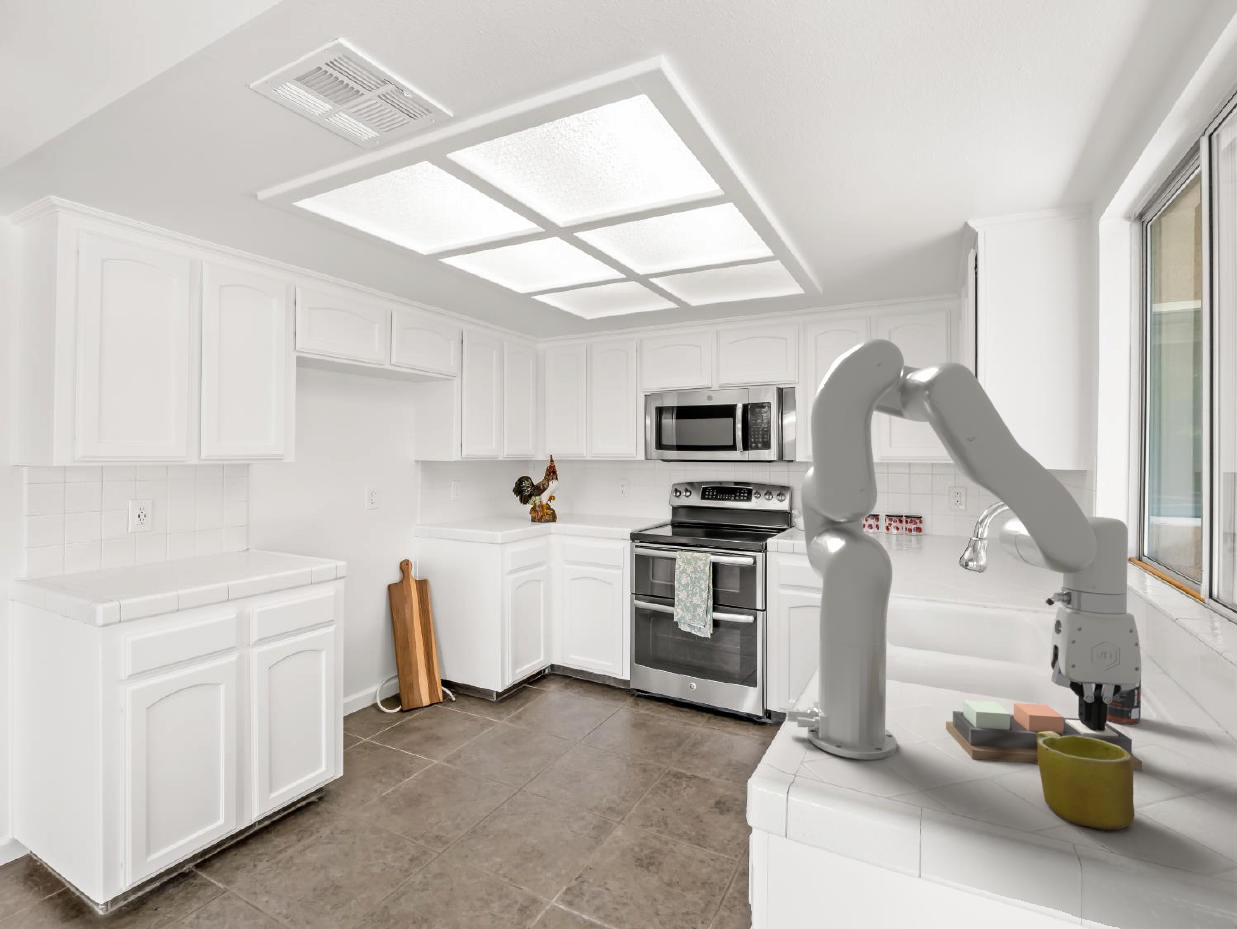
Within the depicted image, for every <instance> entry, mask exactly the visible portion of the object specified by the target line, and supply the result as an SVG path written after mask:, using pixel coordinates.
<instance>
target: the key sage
mask: <svg viewBox="0 0 1237 929" xmlns="http://www.w3.org/2000/svg"><path fill="white" fill-rule="evenodd" d="M962 708H963V709H962V710H963V711H962V712H963V716H964V717H965V718H966V719H967V720H968V721H969V722H970V723H971V724H972V725H973V726H974V727H975V728H989V729H1005V730H1010V715H1011V713H1009V712H1008V711H1007V710H1006V709H1005V708H1003V707H1002V706H1001V705H1000V704H999V703H998V702H996V701H989V700H988V701H987V700H986V701H984V700H967V699H964V700H963V707H962Z"/></svg>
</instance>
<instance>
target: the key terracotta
mask: <svg viewBox="0 0 1237 929" xmlns="http://www.w3.org/2000/svg"><path fill="white" fill-rule="evenodd" d="M1013 715H1014V719H1015V720H1016V721H1017V722H1018V723H1019V724H1021V725H1022V726H1023V727H1024V728H1025V729H1026V730H1028V731H1037V732H1046V731H1053V732H1055V733H1063V726H1064V718H1065V717H1064V716H1063V715H1061V714H1060V713H1059V712H1058V711H1056V710H1055V709H1053V708H1052V707H1050V706H1049V705H1047V704H1040V703H1039V704H1038V703H1035V704H1034V703H1021V702H1019V703H1018V702H1014V703H1013Z"/></svg>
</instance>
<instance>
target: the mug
mask: <svg viewBox="0 0 1237 929" xmlns="http://www.w3.org/2000/svg"><path fill="white" fill-rule="evenodd" d="M1036 738H1037V745H1038V748H1037V758H1038V763H1037V764H1038V768H1039V773H1040V779H1041V785H1042V790H1043V791H1042V792H1043V797H1044V801H1045V804H1046V805H1047V806H1048V807H1049V808H1050V809H1051V810H1052V811H1053V812H1054V813H1055V814H1056V815H1057V816H1059V817H1061V818H1062V819H1063V820H1066V821H1068V822H1069V823H1072V824H1074V825H1077V826H1080V827H1090V828H1095V829H1098V830H1099V829H1100V830H1120V829H1122V828H1127V827H1130V826H1132V824H1133V823H1134V820H1135V807H1134V806H1135V805H1134V770H1133V760H1132V758H1131V755H1130V754H1129V753H1128V752H1127V751H1125V750H1124V749H1123V748H1121V747H1119V746H1117V745H1114V744H1111V743H1108V742H1105V741H1102V740H1099V739H1094V738H1089V737H1082V736H1062V737H1060V735H1059V734H1057V733H1055V732H1053V731H1046V732H1039V733H1038V734H1037V737H1036Z"/></svg>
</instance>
